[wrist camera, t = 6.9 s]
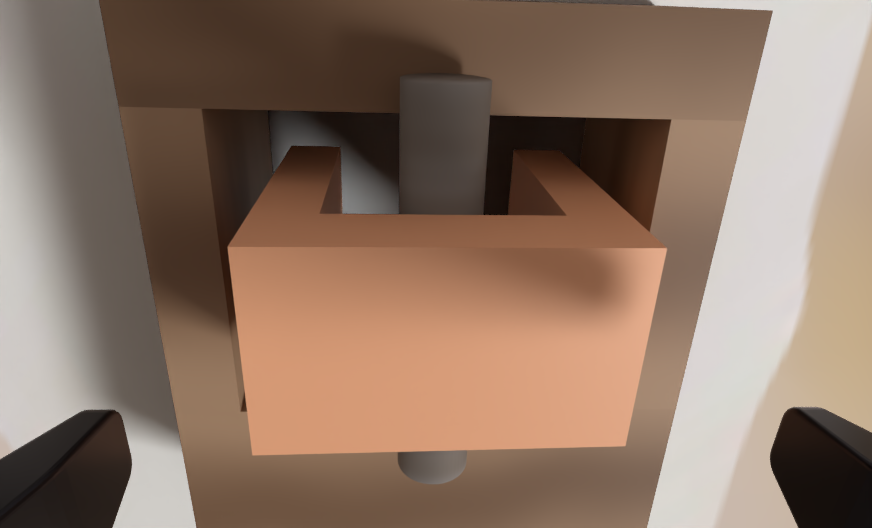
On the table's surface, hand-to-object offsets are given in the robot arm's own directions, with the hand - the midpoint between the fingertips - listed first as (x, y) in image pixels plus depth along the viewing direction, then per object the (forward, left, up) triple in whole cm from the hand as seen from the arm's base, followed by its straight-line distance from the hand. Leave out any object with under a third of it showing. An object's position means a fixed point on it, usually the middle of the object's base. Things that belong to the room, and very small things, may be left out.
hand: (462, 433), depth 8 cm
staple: (0, 0, -9) cm, 9 cm away
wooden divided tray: (-2, -2, -11) cm, 11 cm away
